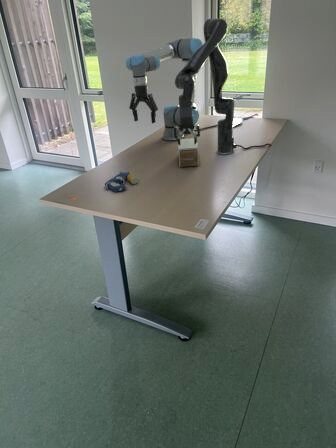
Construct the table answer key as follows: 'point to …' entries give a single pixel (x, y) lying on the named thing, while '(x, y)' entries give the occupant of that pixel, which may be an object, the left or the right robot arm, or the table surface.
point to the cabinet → (187, 147)
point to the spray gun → (120, 181)
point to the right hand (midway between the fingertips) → (187, 144)
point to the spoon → (236, 121)
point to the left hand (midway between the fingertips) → (144, 121)
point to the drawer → (188, 157)
